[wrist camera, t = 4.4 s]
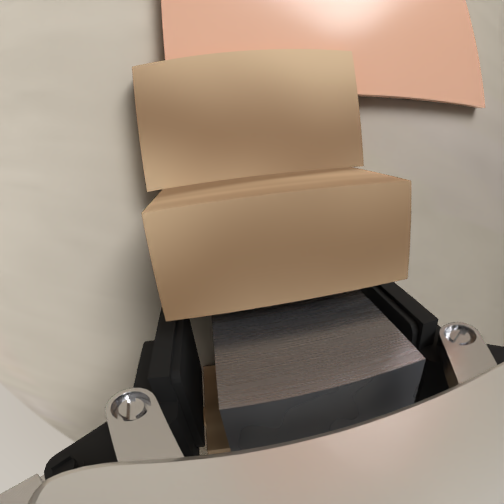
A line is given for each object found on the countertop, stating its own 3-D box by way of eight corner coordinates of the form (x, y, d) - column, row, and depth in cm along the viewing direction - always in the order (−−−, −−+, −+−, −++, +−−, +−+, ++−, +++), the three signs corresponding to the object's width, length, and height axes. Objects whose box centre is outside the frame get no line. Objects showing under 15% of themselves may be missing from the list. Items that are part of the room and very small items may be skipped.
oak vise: (138, 73, 9) (97, 32, 5) (340, 57, 10) (410, 22, 5) (218, 453, 15) (225, 521, 11) (342, 428, 16) (370, 489, 12)
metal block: (208, 263, 12) (219, 409, 5) (316, 247, 12) (425, 358, 5) (224, 353, 13) (246, 503, 6) (318, 336, 13) (391, 465, 7)
